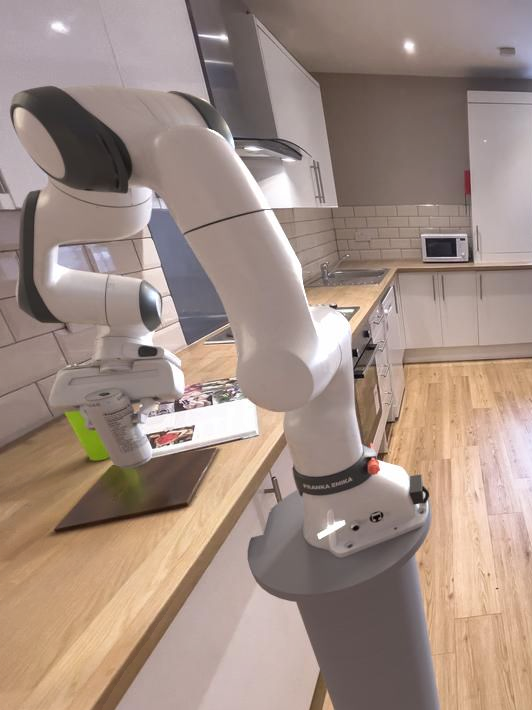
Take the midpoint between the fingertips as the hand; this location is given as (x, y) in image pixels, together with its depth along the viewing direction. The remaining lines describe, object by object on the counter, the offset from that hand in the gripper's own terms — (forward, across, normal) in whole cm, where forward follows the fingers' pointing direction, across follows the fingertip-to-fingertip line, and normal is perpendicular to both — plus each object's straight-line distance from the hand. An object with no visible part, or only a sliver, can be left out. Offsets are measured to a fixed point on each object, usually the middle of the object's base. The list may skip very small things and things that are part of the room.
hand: (116, 426), depth 77 cm
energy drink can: (+6, 0, +6) cm, 9 cm away
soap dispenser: (-2, -15, +23) cm, 28 cm away
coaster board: (+10, 0, +11) cm, 14 cm away
